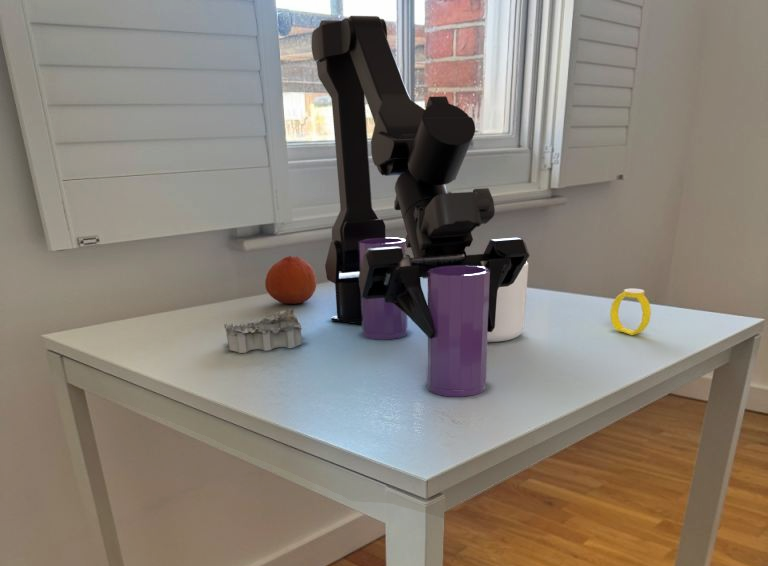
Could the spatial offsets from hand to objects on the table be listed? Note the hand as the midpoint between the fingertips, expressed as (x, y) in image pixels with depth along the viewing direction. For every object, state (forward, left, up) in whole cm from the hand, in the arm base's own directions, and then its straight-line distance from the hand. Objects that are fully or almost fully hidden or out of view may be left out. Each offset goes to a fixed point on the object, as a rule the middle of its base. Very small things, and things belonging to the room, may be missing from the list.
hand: (462, 333), depth 76 cm
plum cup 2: (-1, +1, -7) cm, 7 cm away
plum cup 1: (-22, +18, -7) cm, 29 cm away
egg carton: (-34, +5, -7) cm, 35 cm away
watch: (+9, +34, -7) cm, 36 cm away
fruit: (-49, +29, -7) cm, 57 cm away
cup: (-8, +24, -7) cm, 26 cm away
